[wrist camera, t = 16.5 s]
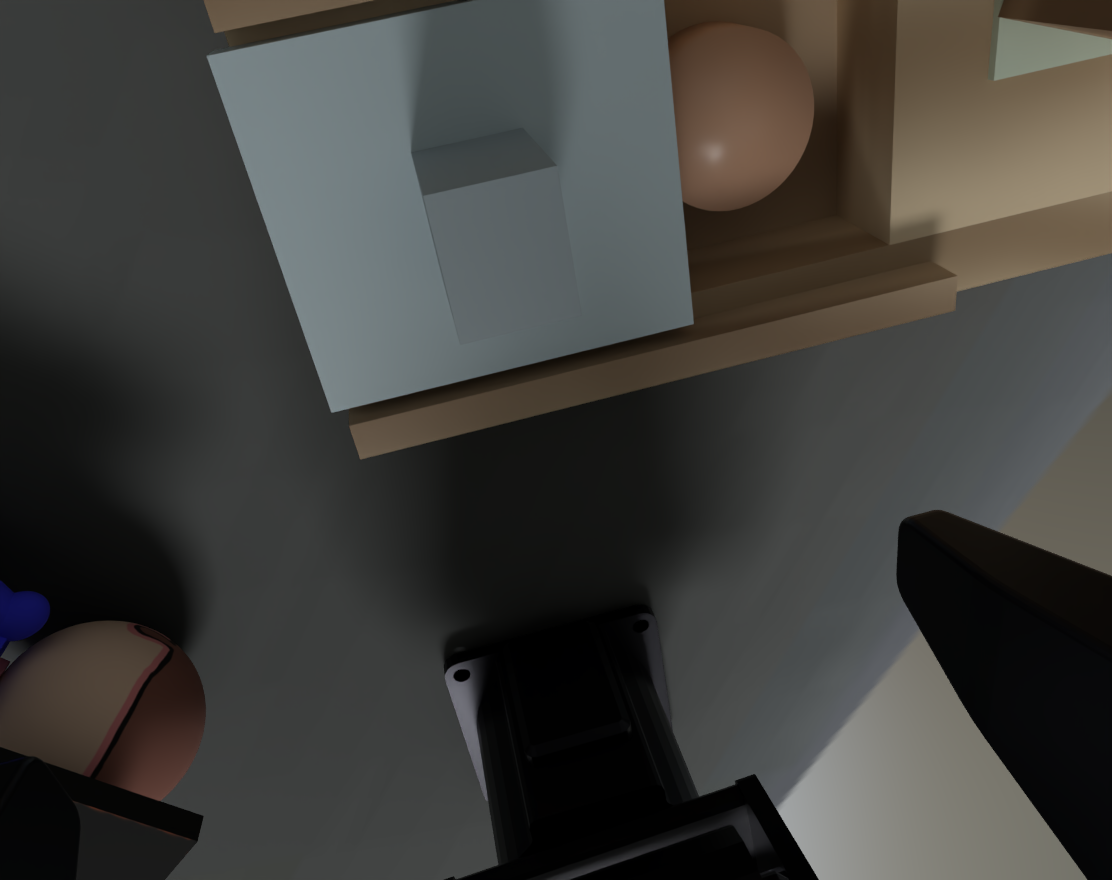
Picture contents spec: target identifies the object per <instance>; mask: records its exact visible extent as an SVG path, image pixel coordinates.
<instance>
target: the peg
mask: <svg viewBox="0 0 1112 880" xmlns="http://www.w3.org/2000/svg"><path fill="white" fill-rule="evenodd" d="M998 17H1000V18H1006V19H1011V20H1016V21H1021V22H1026V23H1031V24H1036V25H1041V26H1046V27H1051V28H1057V29H1062V30H1067V31H1072V32H1077V33H1082V34H1087V35H1092V36H1097V37H1102V38H1108V39H1112V0H1004V1H1003V4H1002V6H1001V9H1000V12H999V15H998Z"/></svg>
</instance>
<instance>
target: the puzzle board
mask: <svg viewBox="0 0 1112 880" xmlns="http://www.w3.org/2000/svg"><path fill="white" fill-rule="evenodd" d="M450 1H455V0H204V3H205V6H206V9H207V12H208V14H209V17H210V20H211V23H212V26H213V29H214V32H215V33H217V32H222V31H224V33H225V35H226V38H227V41H228V44H229V47H232V46H237V45H242V44H247V43H252V42H257V41H261V40H266V39H271V38H276V37H281V36H286V35H290V34H295V33H300V32H305V31H310V30H315V29H319V28H324V27H329V26H334V25H339V24H344V23H349V22H353V21H358V20H363V19H368V18H373V17H378V16H382V15H387V14H392V13H397V12H402V11H407V10H412V9H416V8H421V7H426V6H431V5H436V4H441V3H445V2H450ZM1003 1H1004V0H664V7H665V17H666V28H667V39H668V38H669V37H671V36H672V35H674V34H675V33H677V32H678V31H680V30H683V29H685V28H687V27H689V26H692V25H695V24H698V23H703V22H709V21H724V22H731V23H736V24H740V25H745V26H750V27H754V28H758V29H762V30H765V31H768V32H770V33H772V34H774V35H776V36H778V37H780V38H781V39H782V40H784V41H785V42H787V43H788V44H789V45H790V46H791V47H792V48H793V49H794V50H795V51H796V53H797V54H798V55H799V57H800V58H801V60H802V61H803V63H804V65H805V67H806V69H807V71H808V74H809V77H810V80H811V84H812V88H813V95H814V118H813V125H812V130H811V133H810V137H809V140H808V143H807V146H806V148H805V151H804V152H803V154H802V156H801V158H800V160H799V162H798V163H797V165H796V167H795V168H794V170H793V171H792V172H791V174H790V175H789V176H788V177H787V178H786V180H785V181H784V182H783V183H782V184H781V185H780V186H779V187H778V188H776V189H775V190H774V191H773V192H771V193H770V194H769V195H767V196H766V197H764V198H763V199H761V200H759V201H757V202H755V203H753V204H751V205H749V206H746V207H743V208H740V209H735V210H730V211H708V210H703V209H699V208H696V207H694V206H691V205H689V204H687V203H685V202H683V212H684V223H685V234H686V244H687V255H688V266H689V277H690V288H691V299H692V309H693V320H694V324H692V325H688V326H684V327H680V328H676V329H672V330H667V331H663V332H659V333H655V334H651V335H647V336H643V337H639V338H635V339H631V340H627V341H623V342H619V343H614V344H610V345H606V346H602V347H598V348H594V349H590V350H586V351H582V352H578V353H574V354H570V355H566V356H561V357H557V358H553V359H549V360H545V361H541V362H537V363H533V364H529V365H525V366H521V367H517V368H513V369H508V370H504V371H500V372H496V373H492V374H488V375H484V376H480V377H476V378H472V379H468V380H464V381H460V382H455V383H451V384H447V385H443V386H439V387H435V388H431V389H427V390H423V391H419V392H415V393H411V394H407V395H402V396H398V397H394V398H390V399H386V400H382V401H378V402H374V403H370V404H366V405H362V406H358V407H353V408H349V428H350V431H351V434H352V436H353V439H354V442H355V445H356V448H357V451H358V454H359V457H360V460H361V459H365V458H369V457H373V456H377V455H381V454H385V453H389V452H393V451H397V450H401V449H405V448H409V447H413V446H417V445H421V444H425V443H429V442H433V441H437V440H440V439H444V438H448V437H452V436H456V435H460V434H464V433H468V432H472V431H476V430H480V429H484V428H488V427H492V426H496V425H500V424H504V423H508V422H512V421H516V420H520V419H524V418H528V417H532V416H536V415H540V414H544V413H548V412H552V411H556V410H560V409H564V408H568V407H572V406H576V405H580V404H584V403H588V402H592V401H596V400H600V399H604V398H608V397H612V396H616V395H620V394H624V393H628V392H632V391H636V390H640V389H644V388H648V387H652V386H656V385H660V384H664V383H668V382H672V381H676V380H680V379H684V378H688V377H692V376H696V375H700V374H704V373H708V372H712V371H716V370H720V369H724V368H728V367H732V366H736V365H740V364H744V363H748V362H752V361H756V360H760V359H764V358H768V357H772V356H776V355H780V354H784V353H788V352H792V351H796V350H800V349H804V348H808V347H812V346H816V345H820V344H824V343H828V342H832V341H835V340H839V339H843V338H847V337H851V336H855V335H859V334H863V333H867V332H871V331H875V330H879V329H883V328H887V327H891V326H895V325H899V324H903V323H907V322H911V321H915V320H919V319H923V318H927V317H931V316H935V315H939V314H943V313H947V312H951V311H955V305H956V292H957V291H961V290H965V289H969V288H973V287H977V286H981V285H985V284H989V283H993V282H997V281H1001V280H1005V279H1009V278H1013V277H1017V276H1021V275H1025V274H1029V273H1033V272H1037V271H1041V270H1045V269H1049V268H1053V267H1057V266H1062V265H1066V264H1070V263H1074V262H1078V261H1082V260H1086V259H1090V258H1094V257H1098V256H1102V255H1106V254H1110V253H1112V39H1108V38H1102V37H1097V36H1092V35H1087V34H1082V33H1077V32H1072V31H1067V30H1062V29H1057V28H1051V27H1046V26H1041V25H1036V24H1031V23H1026V22H1021V21H1016V20H1011V19H1006V18H1000V17H998V15H999V12H1000V9H1001V6H1002V4H1003Z"/></svg>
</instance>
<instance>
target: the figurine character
mask: <svg viewBox="0 0 1112 880" xmlns="http://www.w3.org/2000/svg"><path fill="white" fill-rule="evenodd" d="M49 615H50V605H49V602H48V600H47V599H46V598H45V597H44V596H43V595H41V594H39V593H37V592H33V591H20V592H16V593H14V592H13V591H12V590H11V589H9V588H8V587H7V586H6V585H5V584H4V583H3V582H2V581H1V580H0V657H1V655H2V654H3V652H4V650H5V649H6V647H7V646H8V644H9V642H10V641H18V640H22V639H25V638H27V637H30V636H32V635H33V634H35V633H36V632H37V631H39V630H40V629H41V628H42V627H43V626H44V624H45V623H46V622H47V620H48V618H49ZM9 663H10V661H7V660H5V659H3V658H0V764H1V763H4V762H8V761H12V760H15V759H19V758H23V757H26V756H35V757H38V758H39V759H41V760H43V761H44V763H45V764H46V765H47V766H48V768H49V769H50V770H51V772H52V773H53V775H54V776H55V777H56V779H57V780H58V781H59V783H60V784H61V786H62V787H63V788H64V790H65V791H66V792H67V794H68V795H69V796H70V798H71V799H72V801H73V802H74V804H75V805H76V807H77V810H78V813H79V817H80V825H81V831H80V843H79V854H78V865H77V876H76V880H165V879H166V878H167V877H168V875H169V874H170V873H171V872H172V871H173V870H174V868H175V867H176V866H177V865H178V864H179V862H180V861H181V860H182V859H183V858H184V857H185V855H186V854H187V853H188V852H189V851H190V850H191V848H192V847H193V846H194V845H195V844H196V843H197V841H198V837H199V833H200V829H201V825H202V821H203V817H204V816H202V815H199V814H196V813H193V812H190V811H187V810H184V809H181V808H178V807H175V806H172V805H170V804H167V803H164V802H161V800H162V799H163V798H164V797H165V796H166V795H168V794H169V793H170V791H171V790H172V789H173V788H174V787H175V786H176V785H177V784H178V782H179V781H180V780H181V779H182V777H183V776H184V775H185V773H186V772H187V770H188V768H189V767H190V765H191V763H192V761H193V760H194V758H195V755H196V753H197V751H198V749H199V745H200V742H201V739H202V735H203V732H204V725H205V717H206V705H205V695H204V691H203V686H202V683H201V680H200V677H199V675H198V672H197V670H196V668H195V666H194V665H193V663H192V662H191V660H190V659H189V657H188V656H187V655H186V654H185V652H184V651H183V650H182V649H181V648H180V647H179V646H178V645H177V644H175V643H174V642H173V641H172V640H170V639H169V638H167V637H166V636H164V635H163V634H161V633H159V632H157V631H155V630H153V629H151V628H148V627H146V626H142V625H139V624H135V623H130V622H125V621H94V622H87V623H82V624H78V625H74V626H71V627H68V628H65V629H63V630H60V631H58V632H55V633H53V634H51V635H49V636H47V637H46V638H44V639H42V640H40V641H39V642H37V643H36V644H34V645H33V646H31V647H30V648H29V649H28V650H26V651H25V652H24V653H23V654H21V655H20V656H19V657H18V658H17V659H16V660H15V661H14V662H13V663H12V664H11V665H10V666H9V667H8V665H9ZM7 667H8V668H7ZM6 668H7V670H6ZM5 670H6V671H5ZM4 671H5V672H4Z"/></svg>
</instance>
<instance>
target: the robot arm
mask: <svg viewBox="0 0 1112 880" xmlns="http://www.w3.org/2000/svg"><path fill="white" fill-rule="evenodd" d="M896 576H897V585H898V588H899V592H900V594H901V597H902V599H903V601H904V602H905V604H906V606H907V608H908V609H909V611H910V613H911V615H912V616H913V618H914V620H915V622H916V623H917V625H918V627H919V629H920V630H921V632H922V634H923V636H924V637H925V639H926V641H927V642H928V644H929V646H930V648H931V650H932V651H933V653H934V655H935V657H936V658H937V660H938V662H939V664H940V665H941V667H942V669H943V670H944V672H945V674H946V676H947V678H948V679H949V681H950V683H951V685H952V686H953V688H954V690H955V692H956V693H957V695H958V697H959V699H960V700H961V702H962V704H963V705H964V707H965V708H966V710H967V712H968V713H969V715H970V717H971V718H972V720H973V721H974V723H975V724H976V726H977V727H978V729H979V730H980V731H981V733H982V734H983V736H984V737H985V739H986V740H987V742H988V743H989V744H990V746H991V747H992V749H993V750H994V751H995V753H996V754H997V755H998V757H999V758H1000V760H1001V761H1002V762H1003V764H1004V765H1005V766H1006V768H1007V769H1008V770H1009V772H1010V773H1011V775H1012V776H1013V778H1014V779H1015V780H1016V782H1017V783H1018V784H1019V786H1020V787H1021V788H1022V790H1023V791H1024V793H1025V794H1026V795H1027V797H1028V798H1029V800H1030V801H1031V802H1032V804H1033V805H1034V807H1035V808H1036V809H1037V811H1038V812H1039V813H1040V815H1041V816H1042V818H1043V819H1044V820H1045V822H1046V823H1047V824H1048V825H1049V827H1050V829H1051V830H1052V831H1053V833H1054V834H1055V835H1056V837H1057V838H1058V839H1059V841H1060V842H1061V844H1062V845H1063V846H1064V848H1065V849H1066V851H1067V852H1068V853H1069V855H1070V856H1071V858H1072V859H1073V860H1074V862H1075V863H1076V864H1077V866H1078V867H1079V869H1080V870H1081V871H1082V873H1083V874H1084V875H1085V877H1086V878H1087V880H1112V576H1111V575H1108V574H1106V573H1103V572H1100V571H1098V570H1095V569H1093V568H1090V567H1087V566H1085V565H1082V564H1080V563H1077V562H1075V561H1072V560H1069V559H1067V558H1064V557H1062V556H1059V555H1057V554H1054V553H1051V552H1049V551H1046V550H1044V549H1041V548H1038V547H1036V546H1033V545H1031V544H1028V543H1026V542H1023V541H1021V540H1018V539H1015V538H1013V537H1010V536H1008V535H1005V534H1003V533H1000V532H998V531H995V530H992V529H990V528H987V527H985V526H982V525H980V524H977V523H974V522H972V521H969V520H967V519H964V518H962V517H959V516H956V515H954V514H951V513H949V512H946V511H942V510H932V511H929V512H925V513H921V514H918V515H914V516H910V517H907V518H905V519H904V520H903V521H902V522H901V524H900V526H899V532H898V552H897V573H896ZM639 620H643V621H642V622H641V623H639V624H635V622H637V621H639ZM460 669H466V670H465V671H463V672H456V671H458V670H460ZM444 673H445V680H446V683H447V686H448V689H449V692H450V695H451V698H452V701H453V704H454V707H455V710H456V713H457V716H458V719H459V723H460V726H461V729H462V732H463V735H464V738H465V741H466V744H467V747H468V750H469V753H470V756H471V759H472V762H473V765H474V768H475V771H476V774H477V777H478V780H479V783H480V786H481V789H482V792H483V795H484V797H485V799H486V800H487V801H488V802H489V809H490V815H491V821H492V827H493V834H494V840H495V846H496V852H497V858H498V865H497V866H494V867H491V868H488V869H486V870H483V871H480V872H477V873H474V874H471V875H468V876H465V877H462V878H459V879H455V877H454V876H453V877H450V878H448V879H445V880H819V879H818V878H817V876H816V874H815V873H814V871H813V869H812V868H811V866H810V864H809V863H808V861H807V859H806V858H805V856H804V854H803V853H802V851H801V849H800V848H799V846H798V845H797V843H796V841H795V840H794V838H793V836H792V835H791V833H790V831H789V830H788V828H787V826H786V825H785V823H784V822H783V820H782V818H781V816H780V815H779V813H778V811H777V810H776V808H775V806H774V805H773V803H772V801H771V800H770V798H769V796H768V795H767V793H766V791H765V790H764V788H763V787H762V785H761V783H760V782H759V780H758V778H757V777H756V775H755V774H753V775H750V776H747V777H745V778H742V779H739V780H736V781H735V785H732V786H729V787H726V788H724V789H721V790H718V791H715V792H712V793H709V794H706V795H703V796H700V797H699V795H698V793H697V790H696V788H695V785H694V783H693V780H692V778H691V775H690V773H689V771H688V768H687V766H686V763H685V761H684V758H683V756H682V753H681V751H680V748H679V746H678V743H677V741H676V739H675V736H674V734H673V730H672V723H671V716H670V709H669V702H668V695H667V688H666V681H665V674H664V668H663V661H662V654H661V647H660V640H659V633H658V626H657V621H656V619H655V616H654V614H653V612H652V610H651V608H649V607H648V606H646V605H634V606H631V607H627V608H623V609H620V610H616V611H612V612H609V613H605V614H601V615H598V616H594V617H590V618H587V619H583V620H579V621H576V622H572V623H568V624H565V625H561V626H557V627H554V628H550V629H546V630H543V631H539V632H535V633H532V634H528V635H524V636H521V637H517V638H513V639H510V640H506V641H502V642H499V643H495V644H491V645H488V646H484V647H480V648H477V649H473V650H469V651H466V652H462V653H458V654H455V655H453V656H451V657H450V658H449V659H447V660H446V662H445V664H444ZM80 831H81V825H80V817H79V813H78V810H77V807H76V805H75V804H74V802H73V801H72V799H71V798H70V796H69V795H68V794H67V792H66V791H65V790H64V788H63V787H62V786H61V784H60V783H59V781H58V780H57V779H56V777H55V776H54V775H53V773H52V772H51V770H50V769H49V768H48V766H47V765H46V764H45V763H44V761H43V760H41V759H39V758H38V757H35V756H26V757H23V758H19V759H15V760H12V761H8V762H4V763H1V764H0V880H76V876H77V865H78V854H79V843H80Z"/></svg>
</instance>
